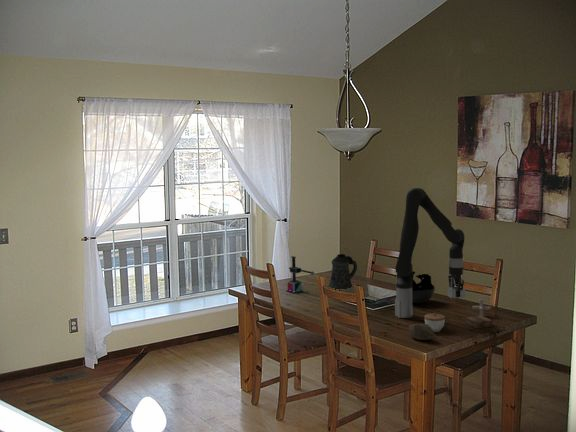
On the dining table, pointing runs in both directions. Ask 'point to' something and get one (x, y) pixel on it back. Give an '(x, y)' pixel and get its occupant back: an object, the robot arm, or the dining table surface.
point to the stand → (478, 322)
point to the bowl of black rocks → (422, 289)
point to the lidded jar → (435, 321)
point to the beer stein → (342, 272)
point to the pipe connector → (481, 307)
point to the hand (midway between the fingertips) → (455, 295)
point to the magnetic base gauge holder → (295, 284)
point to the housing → (453, 290)
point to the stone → (421, 331)
